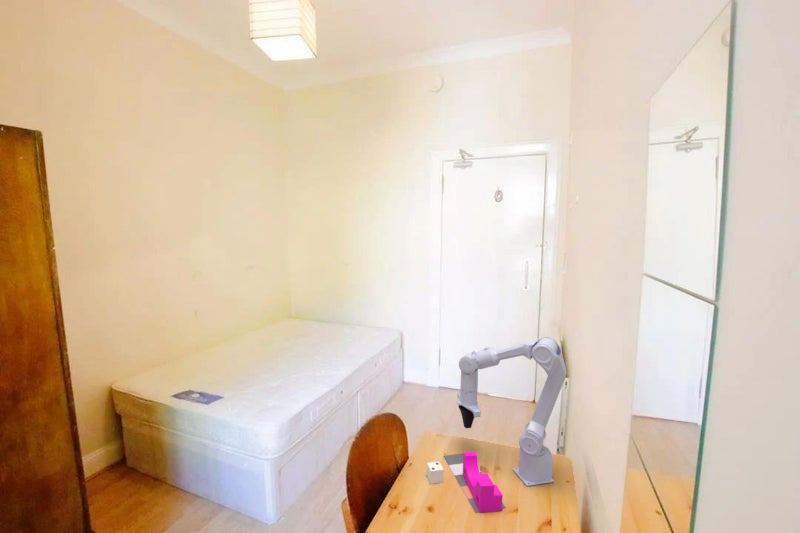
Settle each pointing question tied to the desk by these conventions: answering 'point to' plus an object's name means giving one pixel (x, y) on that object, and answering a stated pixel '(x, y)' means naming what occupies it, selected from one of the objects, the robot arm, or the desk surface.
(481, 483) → the toy block
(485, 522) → the desk surface
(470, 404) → the robot arm
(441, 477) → the die
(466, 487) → the board
